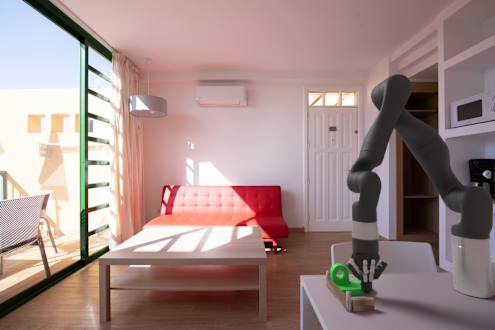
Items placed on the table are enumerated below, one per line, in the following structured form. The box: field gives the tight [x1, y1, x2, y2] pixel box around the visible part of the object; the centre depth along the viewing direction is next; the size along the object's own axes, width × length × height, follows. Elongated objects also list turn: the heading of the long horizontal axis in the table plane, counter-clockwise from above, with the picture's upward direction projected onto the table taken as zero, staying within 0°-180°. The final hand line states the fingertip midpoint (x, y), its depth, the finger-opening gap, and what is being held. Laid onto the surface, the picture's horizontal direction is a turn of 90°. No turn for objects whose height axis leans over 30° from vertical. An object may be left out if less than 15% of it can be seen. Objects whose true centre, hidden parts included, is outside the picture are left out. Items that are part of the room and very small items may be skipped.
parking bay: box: [325, 270, 376, 313], centre depth 77 cm, size 8×16×5 cm, turn 4°
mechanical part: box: [329, 262, 373, 296], centre depth 81 cm, size 12×6×8 cm, turn 94°
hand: (366, 292), depth 77 cm, fingers closed
